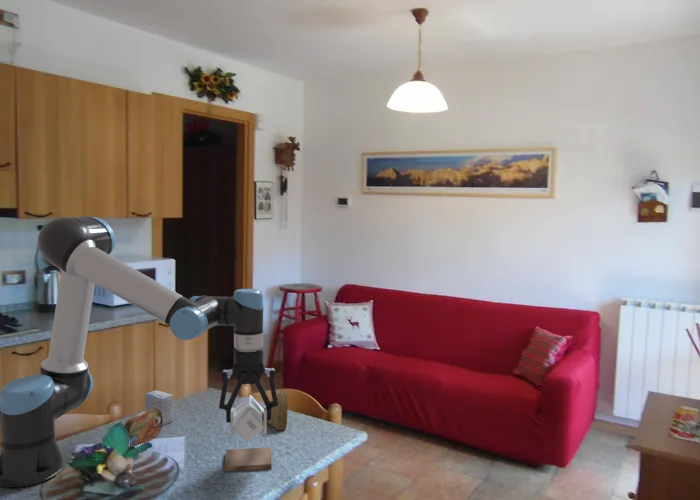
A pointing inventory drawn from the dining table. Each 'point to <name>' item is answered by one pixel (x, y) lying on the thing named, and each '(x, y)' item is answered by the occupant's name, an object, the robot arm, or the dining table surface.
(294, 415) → the dining table surface
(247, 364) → the robot arm
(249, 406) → the syrup box
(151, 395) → the medicine box
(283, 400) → the rock
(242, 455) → the walnut board
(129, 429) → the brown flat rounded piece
